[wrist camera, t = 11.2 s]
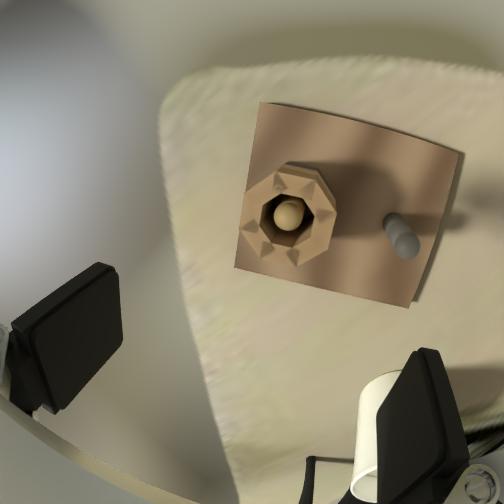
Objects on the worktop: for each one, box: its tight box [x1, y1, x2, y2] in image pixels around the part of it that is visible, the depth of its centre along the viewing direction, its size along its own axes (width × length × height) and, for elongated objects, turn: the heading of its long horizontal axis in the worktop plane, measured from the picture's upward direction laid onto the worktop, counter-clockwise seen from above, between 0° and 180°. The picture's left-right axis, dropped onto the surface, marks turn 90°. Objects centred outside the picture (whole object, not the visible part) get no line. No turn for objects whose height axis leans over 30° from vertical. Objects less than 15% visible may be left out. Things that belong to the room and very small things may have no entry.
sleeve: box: [239, 162, 337, 267], centre depth 22 cm, size 6×6×6 cm
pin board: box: [234, 102, 459, 308], centre depth 22 cm, size 16×14×7 cm
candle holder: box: [350, 371, 401, 503], centre depth 26 cm, size 10×10×12 cm
